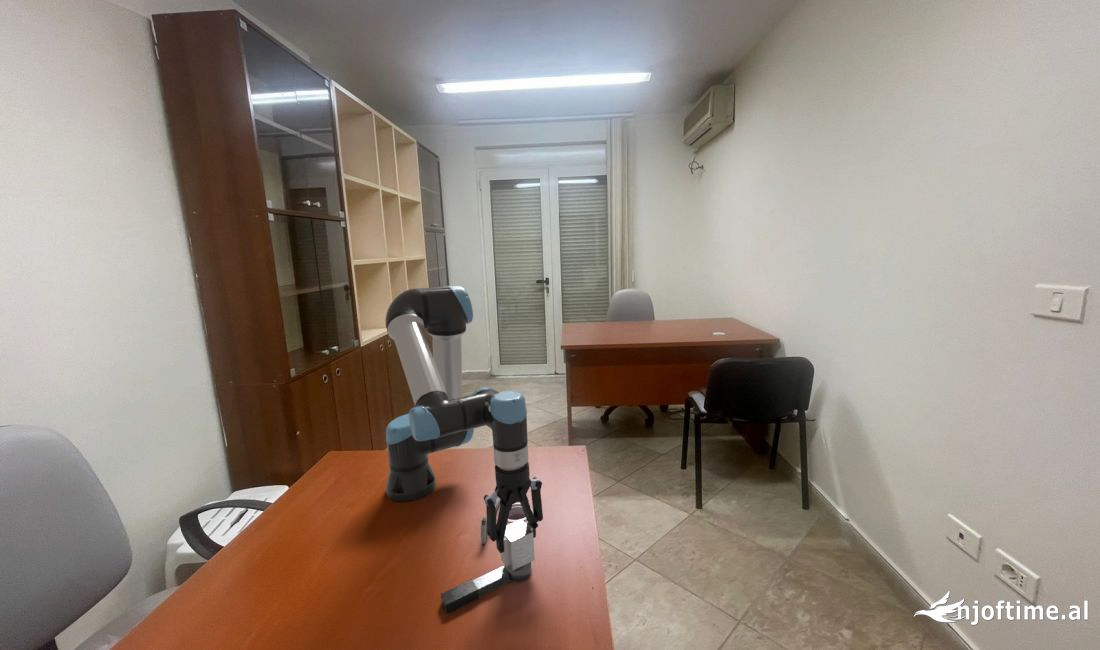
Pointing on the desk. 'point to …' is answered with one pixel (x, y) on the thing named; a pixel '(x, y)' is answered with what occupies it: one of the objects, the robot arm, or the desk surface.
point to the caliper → (484, 525)
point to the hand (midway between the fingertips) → (517, 556)
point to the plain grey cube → (519, 544)
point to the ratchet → (482, 586)
